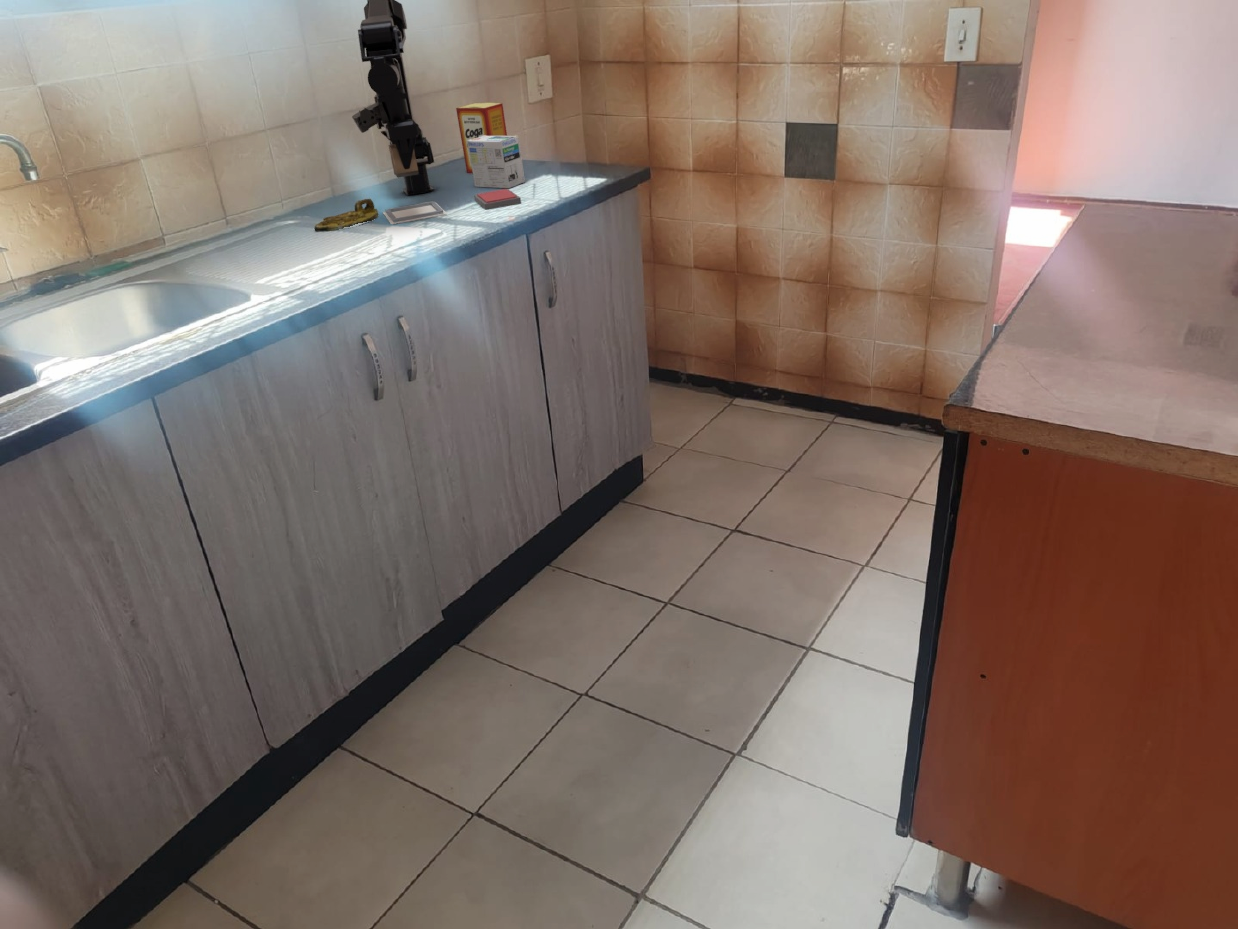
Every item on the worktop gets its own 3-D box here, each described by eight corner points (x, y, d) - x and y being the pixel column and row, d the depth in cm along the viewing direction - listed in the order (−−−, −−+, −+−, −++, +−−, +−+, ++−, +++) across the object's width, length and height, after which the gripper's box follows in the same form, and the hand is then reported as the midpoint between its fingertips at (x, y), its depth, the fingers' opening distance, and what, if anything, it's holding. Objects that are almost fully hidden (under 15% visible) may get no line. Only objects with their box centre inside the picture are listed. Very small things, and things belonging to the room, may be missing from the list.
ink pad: (474, 200, 207) (473, 193, 207) (509, 194, 210) (508, 187, 209) (485, 209, 199) (484, 202, 198) (521, 203, 201) (520, 196, 200)
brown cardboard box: (394, 173, 199) (388, 145, 196) (415, 170, 200) (409, 141, 197) (397, 177, 195) (391, 148, 192) (418, 174, 197) (413, 144, 194)
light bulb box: (526, 182, 219) (519, 134, 214) (508, 189, 215) (501, 140, 209) (491, 180, 225) (484, 134, 220) (473, 187, 220) (465, 140, 215)
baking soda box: (467, 172, 235) (455, 106, 228) (484, 167, 240) (473, 101, 232) (495, 174, 230) (484, 106, 223) (511, 168, 235) (502, 101, 227)
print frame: (382, 213, 205) (382, 209, 205) (436, 203, 208) (435, 199, 208) (391, 224, 195) (390, 220, 195) (447, 214, 198) (446, 210, 198)
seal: (328, 241, 194) (389, 222, 202) (324, 219, 191) (386, 201, 200) (306, 230, 199) (366, 212, 208) (301, 208, 197) (362, 191, 205)
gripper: (344, 89, 195) (361, 165, 203) (355, 99, 179) (373, 181, 187) (397, 82, 198) (411, 157, 206) (412, 90, 183) (427, 171, 190)
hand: (405, 166), depth 197 cm, fingers closed on brown cardboard box, 4 cm apart
